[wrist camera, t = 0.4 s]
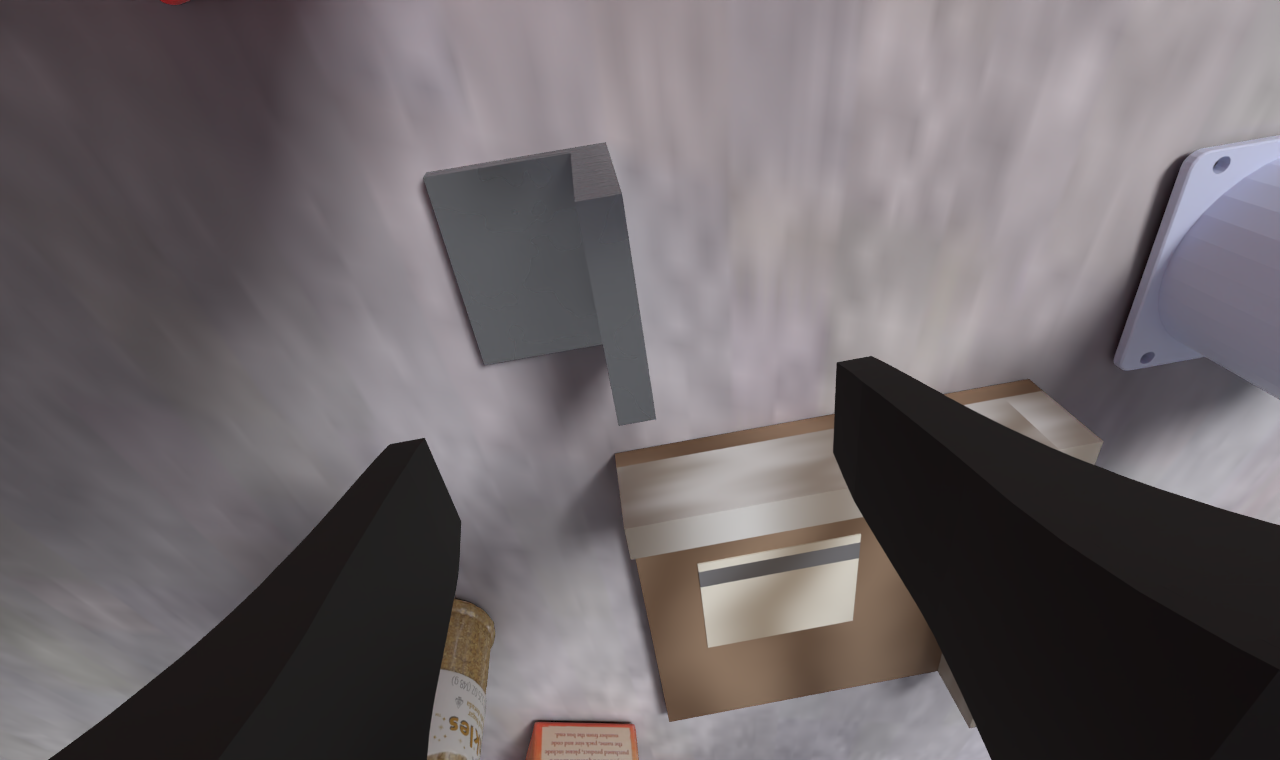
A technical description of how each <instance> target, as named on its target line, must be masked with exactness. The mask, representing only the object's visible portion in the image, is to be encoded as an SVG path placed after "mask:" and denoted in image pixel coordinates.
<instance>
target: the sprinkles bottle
mask: <svg viewBox="0 0 1280 760" xmlns="http://www.w3.org/2000/svg"><path fill="white" fill-rule="evenodd" d="M494 638H495V629H494V623H493V621H492V620H491V619H490V617H489V615H488V614H487V613H486V612H485V611H484V610H482V609H481V608H479V607H477V606H475V605H474V604H472V603H469V602H466V601H462V600H458V599H454V601H453V607H452V612H451V618H450V623H449V628H448V633H447V638H446V643H445V648H444V653H443V659H442V664H441V669H440V674H439V679H438V684H437V689H436V694H435V700H434V706H433V712H432V719H431V726H430V733H429V743H428V754H427V760H480V752H481V744H482V736H483V727H484V718H485V709H486V696H485V695H486V687H487V678H488V668H489V658H490V649H491V647H492V645H493V643H494Z"/></svg>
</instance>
